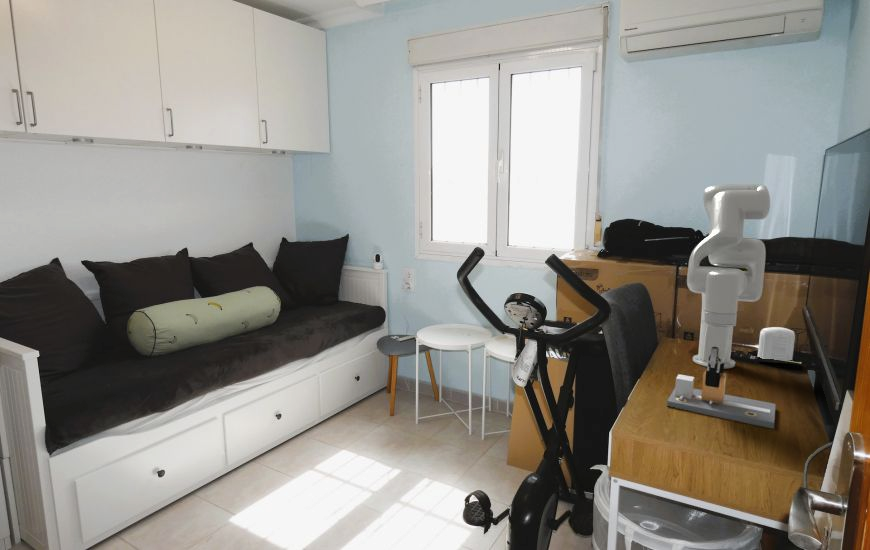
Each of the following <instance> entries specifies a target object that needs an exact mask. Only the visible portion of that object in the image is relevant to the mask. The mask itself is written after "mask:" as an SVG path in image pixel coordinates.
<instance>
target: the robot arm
mask: <svg viewBox="0 0 870 550" xmlns="http://www.w3.org/2000/svg"><path fill="white" fill-rule="evenodd" d="M702 201H703V206H704V209H705V211H706V214H707V216H708V219H709V220H708V221H709V229H708V231H709V232H708V236H707V237H705V238H704V239H703V240H701V241H700V242H699V243H698V244H697V245H696V246H695V247H694V248H693V250H692V251H691V253H690V256H689V260H688V267H687V276H686V277H687V278H686V285H687V288H688V289H689V291H690V292H693V293H695V294H701V315H700V317H701V318H700V331H699V340H698V343H699V344H698V353H697V354H696V355H695V354H694V355H693V356H692V361H693V362H694V363H695V364H698V365H699V366H702V367H706V369H705V370H706V379H705V385H706V386H710V387H716V388H718V387H719V384H720V373H724V370H725V369H732V368H735V366H736V361H735V360H733V359H731V353H732V344H733V342H732V341H733V333H734V332H733V331H734V327H736V325H737V316H738V314H737V313H738V307H739V306H738V304H739V302H751V303H752V302H757V301H759V300H760V299H761V297H762V293H763V289H764V278H765V266H766V255H767V254H766V246H765V243H764V242H763V241H762V240H761V239H758V238H748V237H747V238H746V237H744V225H745V220H764V219H767V217H768V216H769V213H770V208H771V196H770V192H769V188H768V187H767V186H766V185H764V184H755V183H754V184H715V185H710V186H708V187H706V188H705V189H704V190H703V193H702ZM706 257H708V261H709V263H710V264H711V265H712V266H706V265H705V266H704V265H703V266H701V265H700V264H701V261H702V260H703V259H705V258H706ZM741 269H746V270H747V271H743V270H741Z"/></svg>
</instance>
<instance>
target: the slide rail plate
mask: <svg viewBox="0 0 870 550" xmlns="http://www.w3.org/2000/svg"><path fill="white" fill-rule="evenodd" d="M694 386H695V377H694V376H690V375H684V374H677V376H676V377H675V385H674V389H672V393H671V394H670V396H669V397H668V399H667V402H666V407H668V406H671V407H670V408H673V407H675V408H674V409H678V408H679V409H678V410H682V409H683V411H687V410H688V411H687V412H693V413H697V414H698V413H699V414H702V415H707V416H712V417H717V418H719V419H720V418H721V419H726V420H730V421H733V422H734V421H736V422H739V423H740V422H741V423H743V424H744V423H745V424H749V425H754V426H759V427H764V428H768V429H773V430H774V429H775V421H776V420H775V419H776V403H772V402H768V401H762V400H757V399H751V398H747V397H740V396H736V395H731V394H724V400H723V403H718V402H712V404H709V402H710V401H707V400H702V399H701V396H702V389H699V388H694Z"/></svg>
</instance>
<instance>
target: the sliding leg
mask: <svg viewBox="0 0 870 550" xmlns="http://www.w3.org/2000/svg"><path fill="white" fill-rule="evenodd" d="M706 370H707V369H705V370H704V372H703V374H702V388H701V390H702V396H701V399H702V400H707V401H710V402H709V404H712V402H718V403H723V400H724V394H725V392H726V381H727V373H726V372H725V373H724V372H723V373H720V384H719V387H718V388H716V387H710V386H706V385H705V379H706Z"/></svg>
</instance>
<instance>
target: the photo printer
mask: <svg viewBox="0 0 870 550" xmlns="http://www.w3.org/2000/svg"><path fill="white" fill-rule="evenodd" d="M795 336H796V334H795V331H793V330H791V329H789V328H786V327H779V326H772V327H765V328H762V329H761V330H760V332H759V339H758V340H759V341H758V350H757V357H760V358H762V359H774V360H792V361H793V356H794V347H795V339H796V337H795Z"/></svg>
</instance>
